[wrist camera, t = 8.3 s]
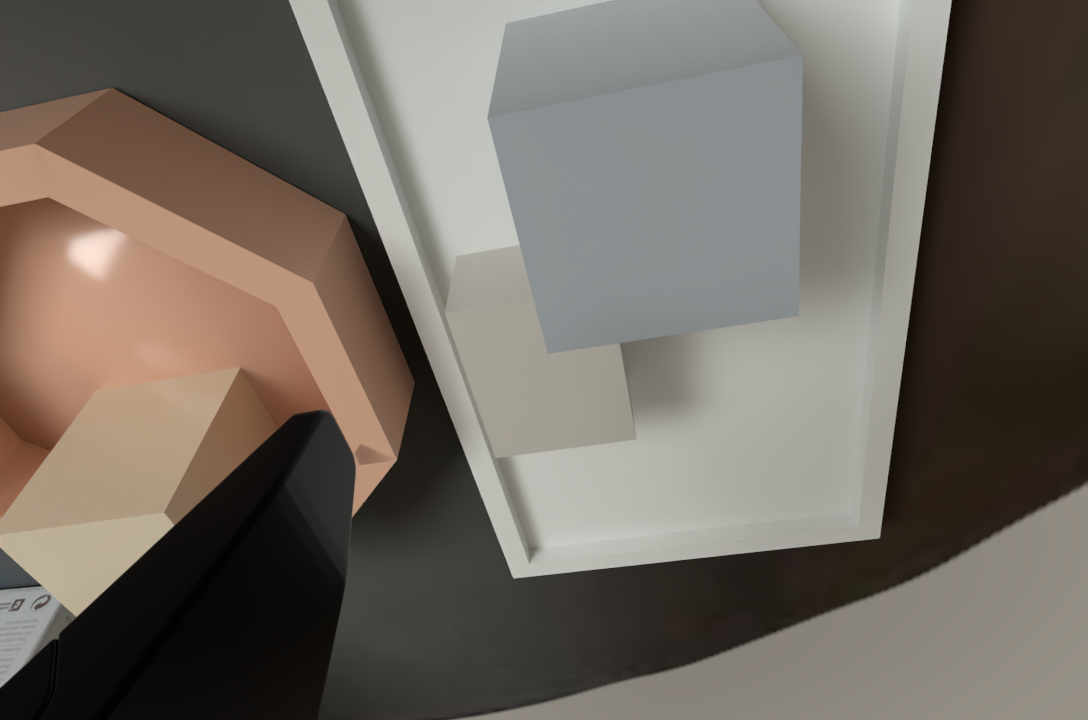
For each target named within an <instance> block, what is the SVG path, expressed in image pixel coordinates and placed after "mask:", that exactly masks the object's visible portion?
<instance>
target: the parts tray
mask: <svg viewBox="0 0 1088 720" xmlns="http://www.w3.org/2000/svg"><path fill="white" fill-rule="evenodd" d="M607 1H611V0H289V2H290V4H291V7H292V10H293V12H294V15H295V17H296V20H297V23H298V25H299V28H300V30H301V33H302V35H303V38H304V41H305V43H306V46H307V48H308V51H309V53H310V56H311V59H312V61H313V64H314V66H315V69H316V71H317V74H318V77H319V79H320V82H321V84H322V87H323V89H324V92H325V95H326V97H327V100H328V102H329V105H330V107H331V110H332V113H333V115H334V118H335V120H336V123H337V125H338V128H339V131H340V133H341V136H342V138H343V141H344V144H345V146H346V149H347V151H348V154H349V156H350V159H351V162H352V164H353V167H354V169H355V172H356V174H357V177H358V180H359V182H360V185H361V187H362V190H363V192H364V195H365V198H366V200H367V203H368V205H369V208H370V210H371V213H372V216H373V218H374V221H375V223H376V226H377V228H378V231H379V234H380V236H381V239H382V241H383V244H384V246H385V249H386V252H387V254H388V257H389V259H390V262H391V265H392V267H393V270H394V272H395V275H396V277H397V280H398V283H399V285H400V288H401V290H402V293H403V295H404V298H405V301H406V303H407V306H408V308H409V311H410V313H411V316H412V319H413V321H414V324H415V326H416V329H417V331H418V334H419V337H420V339H421V342H422V344H423V347H424V349H425V352H426V355H427V357H428V360H429V362H430V365H431V368H432V370H433V373H434V375H435V378H436V380H437V383H438V386H439V388H440V391H441V393H442V396H443V398H444V401H445V404H446V406H447V409H448V411H449V414H450V416H451V419H452V422H453V424H454V427H455V429H456V432H457V434H458V437H459V440H460V442H461V445H462V447H463V450H464V452H465V455H466V458H467V460H468V463H469V465H470V468H471V470H472V473H473V476H474V478H475V481H476V483H477V486H478V489H479V491H480V494H481V496H482V499H483V501H484V504H485V507H486V509H487V512H488V514H489V517H490V519H491V522H492V525H493V527H494V530H495V532H496V535H497V537H498V540H499V543H500V545H501V548H502V550H503V553H504V555H505V558H506V561H507V563H508V566H509V568H510V571H511V573H512V576H513V578H521V577H530V576H540V575H549V574H558V573H567V572H576V571H585V570H594V569H603V568H613V567H622V566H631V565H640V564H649V563H658V562H667V561H677V560H686V559H695V558H704V557H713V556H722V555H731V554H740V553H750V552H759V551H768V550H777V549H786V548H795V547H804V546H813V545H823V544H832V543H841V542H850V541H859V540H868V539H877V538H880V532H881V524H882V517H883V509H884V502H885V495H886V487H887V480H888V472H889V465H890V457H891V450H892V442H893V435H894V427H895V420H896V412H897V405H898V397H899V390H900V383H901V375H902V368H903V360H904V353H905V345H906V338H907V330H908V323H909V315H910V308H911V300H912V293H913V286H914V278H915V271H916V263H917V256H918V248H919V241H920V233H921V226H922V218H923V211H924V203H925V196H926V188H927V181H928V174H929V166H930V159H931V151H932V144H933V136H934V129H935V121H936V114H937V106H938V99H939V91H940V84H941V77H942V69H943V62H944V54H945V47H946V39H947V32H948V24H949V17H950V9H951V2H952V0H756V1H757V2H758V3H759V5H760V6H761V7H762V8H763V9H764V10H765V12H766V13H767V14H768V15H769V16H770V17H771V19H772V20H773V21H774V22H775V23H776V24H777V25H778V27H779V28H780V29H781V30H782V31H783V32H784V34H785V35H786V36H787V37H788V38H789V39H790V41H791V42H792V43H793V44H794V45H795V46H796V48H797V49H798V50H799V51H800V52H801V53H802V55H803V89H802V146H801V202H800V259H799V316H795V317H789V318H782V319H776V320H769V321H762V322H756V323H749V324H743V325H736V326H729V327H723V328H716V329H709V330H703V331H696V332H690V333H683V334H676V335H670V336H663V337H657V338H650V339H643V340H637V341H630V342H624V343H623V345H624V351H625V357H626V363H627V369H628V375H629V382H630V390H631V399H632V407H633V416H634V424H635V432H636V440H628V441H621V442H613V443H606V444H598V445H591V446H583V447H576V448H568V449H561V450H553V451H546V452H538V453H531V454H523V455H515V456H508V457H500V458H495V455H494V452H493V449H492V446H491V444H490V441H489V438H488V435H487V432H486V429H485V427H484V424H483V421H482V418H481V415H480V412H479V410H478V407H477V404H476V401H475V398H474V395H473V393H472V390H471V387H470V384H469V381H468V378H467V376H466V373H465V370H464V367H463V364H462V361H461V359H460V356H459V353H458V350H457V347H456V344H455V342H454V339H453V336H452V333H451V330H450V327H449V325H448V322H447V319H446V316H445V309H446V304H447V299H448V294H449V289H450V284H451V280H452V275H453V270H454V265H455V260H456V256H459V255H464V254H470V253H476V252H482V251H488V250H493V249H499V248H505V247H511V246H517V245H520V244H519V240H518V236H517V232H516V228H515V224H514V220H513V217H512V213H511V209H510V205H509V201H508V197H507V193H506V189H505V185H504V181H503V177H502V173H501V170H500V166H499V162H498V158H497V154H496V150H495V146H494V142H493V138H492V134H491V130H490V127H489V123H488V119H487V117H488V112H489V106H490V101H491V96H492V91H493V86H494V81H495V76H496V71H497V66H498V61H499V56H500V51H501V46H502V41H503V36H504V31H505V25H506V23H509V22H514V21H518V20H523V19H528V18H532V17H537V16H542V15H546V14H551V13H556V12H560V11H565V10H569V9H574V8H579V7H583V6H588V5H593V4H597V3H602V2H607Z"/></svg>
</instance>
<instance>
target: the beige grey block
mask: <svg viewBox="0 0 1088 720" xmlns="http://www.w3.org/2000/svg"><path fill="white" fill-rule="evenodd" d="M445 316H446V319H447V322H448V325H449V327H450V330H451V333H452V336H453V339H454V342H455V344H456V347H457V350H458V353H459V356H460V359H461V361H462V364H463V367H464V370H465V373H466V376H467V378H468V381H469V384H470V387H471V390H472V393H473V395H474V398H475V401H476V404H477V407H478V410H479V412H480V415H481V418H482V421H483V424H484V427H485V429H486V432H487V435H488V438H489V441H490V444H491V446H492V449H493V452H494V455H495V458H500V457H508V456H515V455H523V454H531V453H538V452H546V451H553V450H561V449H568V448H576V447H583V446H591V445H598V444H606V443H613V442H621V441H628V440H636V432H635V424H634V416H633V407H632V399H631V390H630V382H629V375H628V369H627V363H626V357H625V351H624V345H623V343H617V344H610V345H604V346H597V347H590V348H584V349H577V350H571V351H564V352H557V353H551V354H548V353H547V349H546V346H545V342H544V338H543V334H542V330H541V326H540V322H539V318H538V314H537V310H536V306H535V303H534V299H533V295H532V291H531V287H530V283H529V279H528V275H527V271H526V267H525V263H524V260H523V256H522V252H521V248H520V245H517V246H511V247H505V248H499V249H493V250H488V251H482V252H476V253H470V254H464V255H459V256H456V260H455V265H454V270H453V275H452V280H451V284H450V289H449V294H448V299H447V304H446V309H445Z"/></svg>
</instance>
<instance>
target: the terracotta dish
mask: <svg viewBox="0 0 1088 720" xmlns="http://www.w3.org/2000/svg"><path fill="white" fill-rule="evenodd" d="M238 367H241V369H242V370H243V372H244V374H245V375H246V377H247V378H248V380H249V382H250V383H251V385H252V387H253V388H254V390H255V392H256V393H257V395H258V397H259V398H260V400H261V402H262V403H263V405H264V406H265V408H266V410H267V411H268V413H269V415H270V416H271V418H272V420H273V421H274V423H275V425H276V426H277V428H279V427H280V426H281V425H282V424H283V423H284V422H286V421H287V420H288V419H289V418H290V417H291V416H292V415H294V414H296V413H300V412H307V411H314V410H321V409H322V410H327V411H329V412H330V413H331V414H332V416H333V417H334V419H335V421H336V422H337V424H338V426H339V428H340V430H341V432H342V434H343V436H344V438H345V440H346V441H347V443H348V445H349V447H350V449H351V451H352V453H353V456H354V459H355V464H356V478H355V489H354V500H353V512H352V517H353V516H354V514H355V513H356V512H357V511H358V509H359V508H360V507H361V505H362V504H363V503H364V502H365V500H366V499H367V498H368V496H369V495H370V494H371V493H372V491H373V490H374V489H375V487H376V486H377V485H378V484H379V482H380V481H381V480H382V478H383V477H384V476H385V475H386V473H387V472H388V471H389V469H390V468H391V467H392V466H393V464H394V463H395V462H396V460H397V458H398V454H399V449H400V445H401V441H402V436H403V432H404V428H405V423H406V419H407V415H408V410H409V406H410V402H411V397H412V393H413V389H414V384H415V381H414V379H413V377H412V374H411V372H410V369H409V367H408V364H407V362H406V360H405V357H404V355H403V352H402V350H401V348H400V345H399V343H398V340H397V338H396V335H395V333H394V331H393V328H392V326H391V323H390V321H389V319H388V316H387V314H386V311H385V309H384V306H383V304H382V302H381V299H380V297H379V294H378V292H377V290H376V287H375V285H374V282H373V280H372V277H371V275H370V273H369V270H368V268H367V265H366V263H365V260H364V258H363V256H362V253H361V251H360V248H359V246H358V244H357V241H356V239H355V236H354V234H353V231H352V229H351V227H350V224H349V222H348V219H347V217H346V214H344V213H342V212H340V211H338V210H337V209H335V208H333V207H331V206H329V205H327V204H325V203H324V202H322V201H320V200H318V199H316V198H314V197H313V196H311V195H309V194H307V193H305V192H303V191H302V190H300V189H298V188H296V187H294V186H292V185H291V184H289V183H287V182H285V181H283V180H281V179H279V178H278V177H276V176H274V175H272V174H270V173H268V172H267V171H265V170H263V169H261V168H259V167H257V166H256V165H254V164H252V163H250V162H248V161H246V160H245V159H243V158H241V157H239V156H237V155H235V154H233V153H232V152H230V151H228V150H226V149H224V148H222V147H221V146H219V145H217V144H215V143H213V142H211V141H210V140H208V139H206V138H204V137H202V136H200V135H199V134H197V133H195V132H193V131H191V130H189V129H187V128H186V127H184V126H182V125H180V124H178V123H176V122H175V121H173V120H171V119H169V118H167V117H165V116H164V115H162V114H160V113H158V112H156V111H154V110H153V109H151V108H149V107H147V106H145V105H143V104H141V103H140V102H138V101H136V100H134V99H132V98H130V97H129V96H127V95H125V94H123V93H121V92H119V91H118V90H116V89H114V88H109V89H104V90H100V91H95V92H91V93H86V94H82V95H77V96H73V97H68V98H63V99H59V100H54V101H50V102H45V103H41V104H36V105H32V106H27V107H22V108H18V109H13V110H9V111H4V112H0V520H1V518H2V517H3V516H4V514H5V513H6V512H7V510H8V509H9V508H10V506H11V505H12V504H13V502H14V501H15V499H16V498H17V497H18V495H19V494H20V493H21V491H22V490H23V489H24V487H25V486H26V485H27V483H28V482H29V480H30V479H31V478H32V476H33V475H34V474H35V472H36V471H37V470H38V468H39V467H40V466H41V464H42V463H43V462H44V460H45V459H46V457H47V456H48V455H49V453H50V452H51V451H52V449H53V448H54V447H55V445H56V444H57V443H58V441H59V440H60V439H61V437H62V436H63V434H64V433H65V432H66V430H67V429H68V428H69V426H70V425H71V424H72V422H73V421H74V420H75V418H76V417H77V415H78V414H79V413H80V411H81V410H82V409H83V407H84V406H85V405H86V403H87V402H88V401H89V399H90V398H91V397H92V395H93V394H94V392H95V391H97V390H103V389H109V388H115V387H122V386H128V385H134V384H140V383H146V382H152V381H158V380H164V379H170V378H177V377H183V376H189V375H195V374H201V373H207V372H213V371H219V370H226V369H232V368H238Z"/></svg>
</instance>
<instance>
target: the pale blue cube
mask: <svg viewBox="0 0 1088 720" xmlns="http://www.w3.org/2000/svg"><path fill="white" fill-rule="evenodd" d="M802 89H803V55H802V53H801V52H800V51H799V50H798V49H797V48H796V46H795V45H794V44H793V43H792V42H791V41H790V39H789V38H788V37H787V36H786V35H785V34H784V32H783V31H782V30H781V29H780V28H779V27H778V25H777V24H776V23H775V22H774V21H773V20H772V19H771V17H770V16H769V15H768V14H767V13H766V12H765V10H764V9H763V8H762V7H761V6H760V5H759V3H758V2H757V1H756V0H611V1H607V2H602V3H597V4H593V5H588V6H583V7H579V8H574V9H569V10H565V11H560V12H556V13H551V14H546V15H542V16H537V17H532V18H528V19H523V20H518V21H514V22H509V23H506V25H505V31H504V36H503V41H502V46H501V51H500V56H499V61H498V66H497V71H496V76H495V81H494V86H493V91H492V96H491V101H490V106H489V112H488V117H487V119H488V123H489V127H490V130H491V134H492V138H493V142H494V146H495V150H496V154H497V158H498V162H499V166H500V170H501V173H502V177H503V181H504V185H505V189H506V193H507V197H508V201H509V205H510V209H511V213H512V217H513V220H514V224H515V228H516V232H517V236H518V240H519V244H520V248H521V252H522V256H523V260H524V263H525V267H526V271H527V275H528V279H529V283H530V287H531V291H532V295H533V299H534V303H535V306H536V310H537V314H538V318H539V322H540V326H541V330H542V334H543V338H544V342H545V346H546V349H547V353H548V354H551V353H557V352H564V351H571V350H577V349H584V348H590V347H597V346H604V345H610V344H617V343H624V342H630V341H637V340H643V339H650V338H657V337H663V336H670V335H676V334H683V333H690V332H696V331H703V330H709V329H716V328H723V327H729V326H736V325H743V324H749V323H756V322H762V321H769V320H776V319H782V318H789V317H795V316H799V259H800V202H801V146H802Z"/></svg>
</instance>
